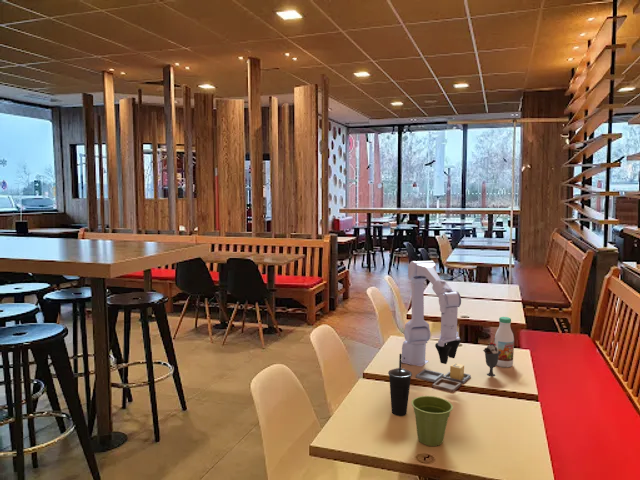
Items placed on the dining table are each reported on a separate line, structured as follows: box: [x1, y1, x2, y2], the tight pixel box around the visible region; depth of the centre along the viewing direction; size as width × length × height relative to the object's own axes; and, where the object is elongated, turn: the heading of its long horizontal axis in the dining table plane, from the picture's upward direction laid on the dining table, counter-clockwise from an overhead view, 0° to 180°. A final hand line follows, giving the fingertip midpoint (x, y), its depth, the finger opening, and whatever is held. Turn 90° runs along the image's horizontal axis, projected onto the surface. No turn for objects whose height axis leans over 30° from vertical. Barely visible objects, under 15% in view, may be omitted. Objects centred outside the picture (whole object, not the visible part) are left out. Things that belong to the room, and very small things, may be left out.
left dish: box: [415, 368, 445, 383], centre depth 199 cm, size 8×8×2 cm
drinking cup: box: [387, 353, 413, 417], centre depth 168 cm, size 8×8×20 cm
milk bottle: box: [493, 316, 515, 368], centre depth 213 cm, size 8×8×20 cm
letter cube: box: [449, 362, 465, 380], centre depth 197 cm, size 4×4×5 cm
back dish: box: [442, 371, 472, 385], centre depth 198 cm, size 8×8×2 cm
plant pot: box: [411, 395, 454, 447], centre depth 150 cm, size 12×12×11 cm
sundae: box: [482, 337, 501, 377], centre depth 201 cm, size 7×7×15 cm
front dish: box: [431, 377, 462, 393], centre depth 190 cm, size 8×8×2 cm
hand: (447, 360), depth 189 cm, fingers open, 7 cm apart
